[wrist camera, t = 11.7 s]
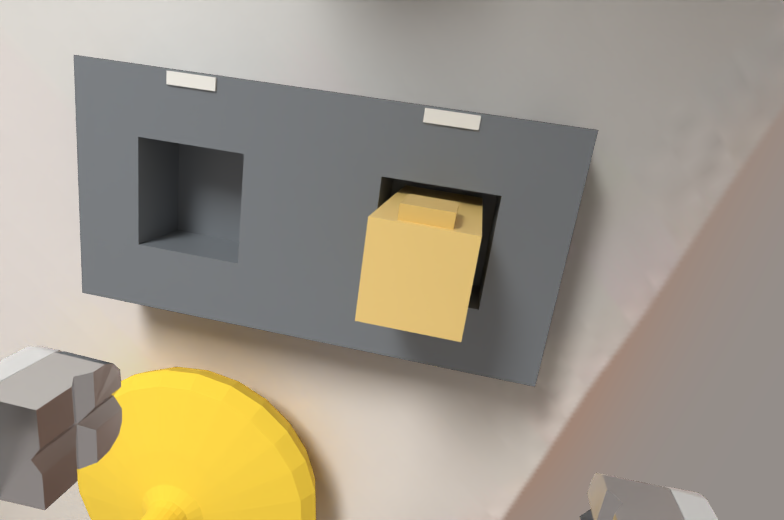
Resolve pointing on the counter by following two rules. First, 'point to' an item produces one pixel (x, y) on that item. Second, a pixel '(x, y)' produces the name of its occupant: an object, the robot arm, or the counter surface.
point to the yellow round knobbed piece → (199, 454)
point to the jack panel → (314, 206)
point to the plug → (420, 262)
